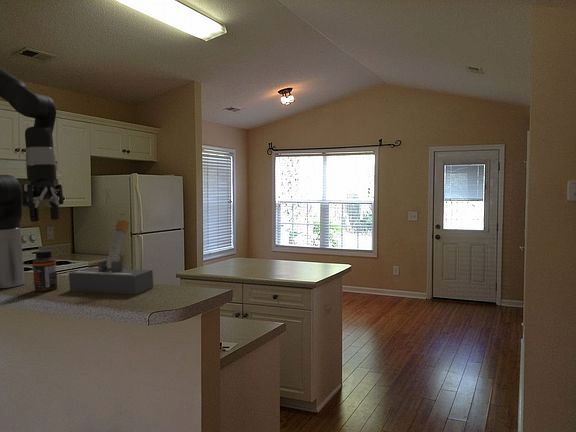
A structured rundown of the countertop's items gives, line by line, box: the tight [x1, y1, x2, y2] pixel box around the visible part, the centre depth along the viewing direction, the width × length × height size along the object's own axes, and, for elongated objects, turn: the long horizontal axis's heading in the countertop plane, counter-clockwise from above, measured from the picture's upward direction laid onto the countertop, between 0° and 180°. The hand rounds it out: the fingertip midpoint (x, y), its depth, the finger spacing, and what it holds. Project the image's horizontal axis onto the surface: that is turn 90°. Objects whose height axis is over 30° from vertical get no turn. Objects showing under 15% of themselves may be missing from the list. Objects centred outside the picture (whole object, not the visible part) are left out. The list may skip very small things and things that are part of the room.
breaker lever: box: [105, 220, 130, 271], centre depth 139 cm, size 3×2×15 cm, turn 71°
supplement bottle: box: [32, 249, 58, 293], centre depth 138 cm, size 6×6×11 cm
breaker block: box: [68, 259, 154, 295], centre depth 137 cm, size 22×8×8 cm, turn 71°
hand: (45, 220), depth 139 cm, fingers open, 8 cm apart
